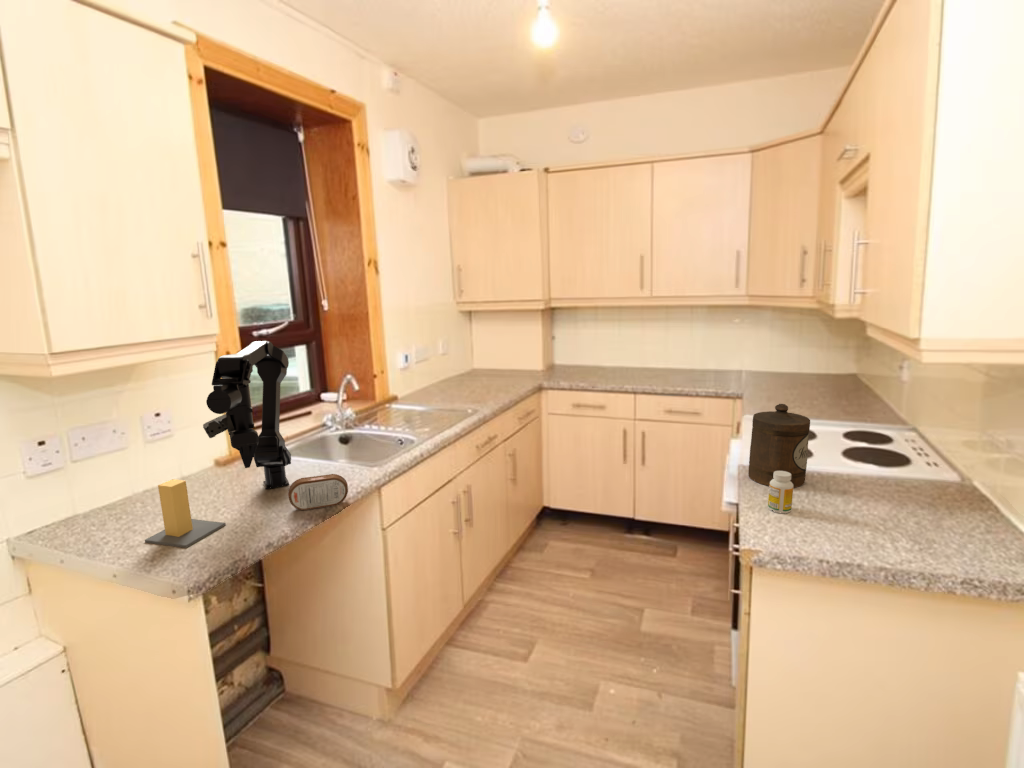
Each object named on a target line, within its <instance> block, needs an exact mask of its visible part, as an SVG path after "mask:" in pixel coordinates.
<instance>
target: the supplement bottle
mask: <svg viewBox="0 0 1024 768" xmlns="http://www.w3.org/2000/svg"><path fill="white" fill-rule="evenodd" d="M773 478H774V479H772V480H771V481H770V485H769V486H768V487H769V488H768V498H767V499H768V500H767V509H768V510H769V509H770V510H769V511H771V510H773V511H775V512H774V513H776V512H781V513H785V514H789V513H790V512H792V509H793V508H792V507H793V506H792V505H793V496H794V495H793V494H794V487H793V483H792V482H791V481H790V480H791V473H789V472H786V471H775V472H774V474H773ZM773 511H772V512H773ZM788 512H789V513H788ZM781 513H780V514H781Z"/></svg>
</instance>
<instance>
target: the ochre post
mask: <svg viewBox="0 0 1024 768" xmlns="http://www.w3.org/2000/svg"><path fill="white" fill-rule="evenodd" d="M157 487H158V494H159V500H160V501H159V502H160V509H161V512H162V513H161V514H162V518H163V520H162V521H163V526H164V530H165V533H166V535H170V536H177V537H179V536H181V535H183V534H185V533H187V532H189V531H191V530H193V527H192V520H191V519H192V515H191V508H190V500H189V495H188V494H189V493H188V487H187V481H186V480H184V479H183V480H182V479H175V478H174V479H170V480H168V481H164V482H162V483H160V484H158V485H157Z"/></svg>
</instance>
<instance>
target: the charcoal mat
mask: <svg viewBox="0 0 1024 768" xmlns="http://www.w3.org/2000/svg"><path fill="white" fill-rule="evenodd" d="M191 520H192V527H193V530H191V531H189V532H187V533H185V534H183V535H181V536H179V537H177V536H170V535H166V533H165V529H163V530H161V531H159V532H156V533H155V534H153V535H151V536H150V537H148V538H146V539H145V538H144V542H145V543H147V544H148V543H149V544H154V545H155V544H156V545H163V546H170V547H177V548H184V549H186V548H189V547H190V546H192V545H194V544H195V543H197V542H199V541H200V540H203V539H205V538H206V537H208V536H209V535H211V534H213V533H215V532H216V531H219V529H222V528H223V527H225V526H226V522H220V521H211V520H205V519H195V518H191Z"/></svg>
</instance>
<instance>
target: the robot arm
mask: <svg viewBox="0 0 1024 768" xmlns="http://www.w3.org/2000/svg"><path fill="white" fill-rule="evenodd" d="M289 363H290V361H289V357H288V356H287V354H286V353H285V352H284V350H282V349H280V348H279V347H277V346H275V345H273V343H272V342H271V341H269V340H262V341H261V340H258V341H257V340H256V341H252V342H251V343H250V344H249V345H247V346H246V347H244V348H243V349H242V350H240V351H238V352H237V353H231V354H224V355H221V356H219V357H218V358H217V360H216V362H215V366H214V370H213V375H212V381H211V386H213V391H211V392H210V393H209V394H208V396H207V397H206V406H207V408H208V409H209V411H211V412H212V413H214V414H217V415H220V416H218V417H217V416H216V417H215V418H213V419H210V420H208V421H207V422H205V423H203V424H202V428H203V430H204V431H205V434H207V436H208V438H209V439H212V438H216V437H217V436H218V435H219V434H221V433H224V432H226V431H227V433H228V436H229V441H230V446H231V447H232V449H235V450H237V451H238V452H239V455H240V458H241V460H242V463H243V466H244V469H248V468H251V465H252V461H254V463H255V466H256V468H263V472H264V480H263V482H262V483H263V486H264V489H265V490H269V489H275V488H281V487H285V486H289V485H290V482H289V480H288V478H287V474H286V473H287V472H286V467H287V466H288V465H291V464H292V454H291V451H289V449H288V447H286V440H285V439H284V437H283V435H282V434H281V433H280V422H281V421H280V418H281V417H280V415H281V413H280V411H281V384H282V382H283V381H284V379H285V378H286V376H287V373H288V368H289ZM254 366H255V368H256V373H257V375H258V376H259V378H260V380H261V381H262V401H261V402H262V404H261V405H262V406H261V408H262V411H261V431H260V432H259V433H258V432H257V430H256V429H255V423H254V419H253V418H254V416H253V407H252V401H251V400H252V399H251V392H250V386H249V385H250V384H251V381H252V380H250V379H251V375H252V373H253V371H254V370H253V368H254Z"/></svg>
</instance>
